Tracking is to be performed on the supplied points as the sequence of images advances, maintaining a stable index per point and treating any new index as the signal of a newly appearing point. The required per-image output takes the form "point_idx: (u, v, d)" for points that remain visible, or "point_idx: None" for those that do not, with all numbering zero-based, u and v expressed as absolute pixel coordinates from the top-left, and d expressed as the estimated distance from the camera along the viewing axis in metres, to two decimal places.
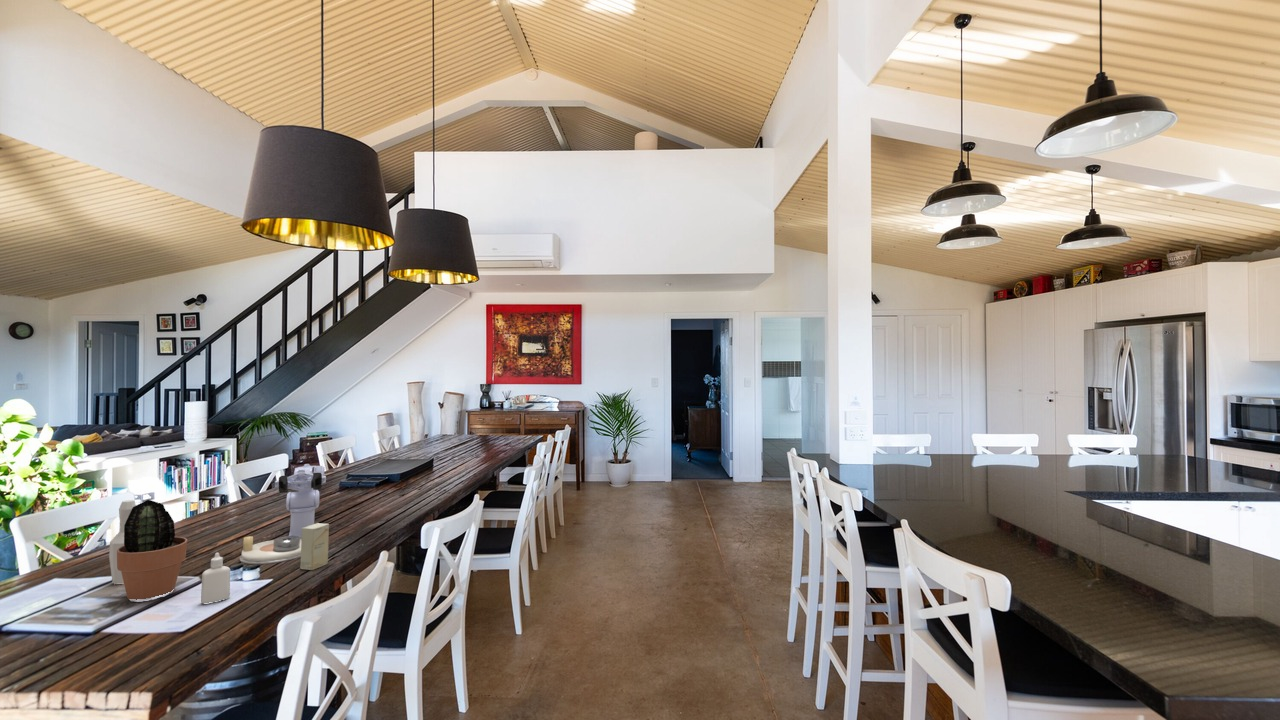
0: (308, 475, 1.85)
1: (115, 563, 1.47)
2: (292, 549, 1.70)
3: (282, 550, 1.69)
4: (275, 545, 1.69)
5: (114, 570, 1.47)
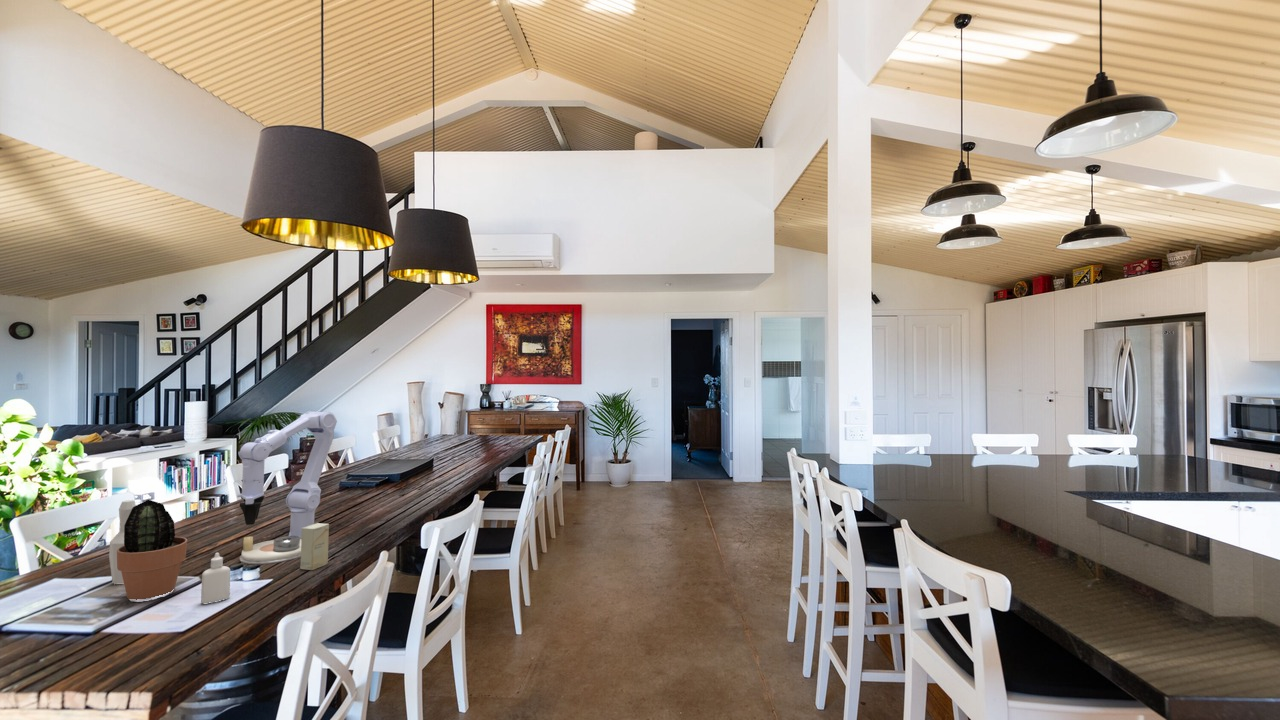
0: None
1: (115, 563, 1.47)
2: (292, 549, 1.70)
3: (282, 550, 1.69)
4: (275, 545, 1.69)
5: (114, 570, 1.47)
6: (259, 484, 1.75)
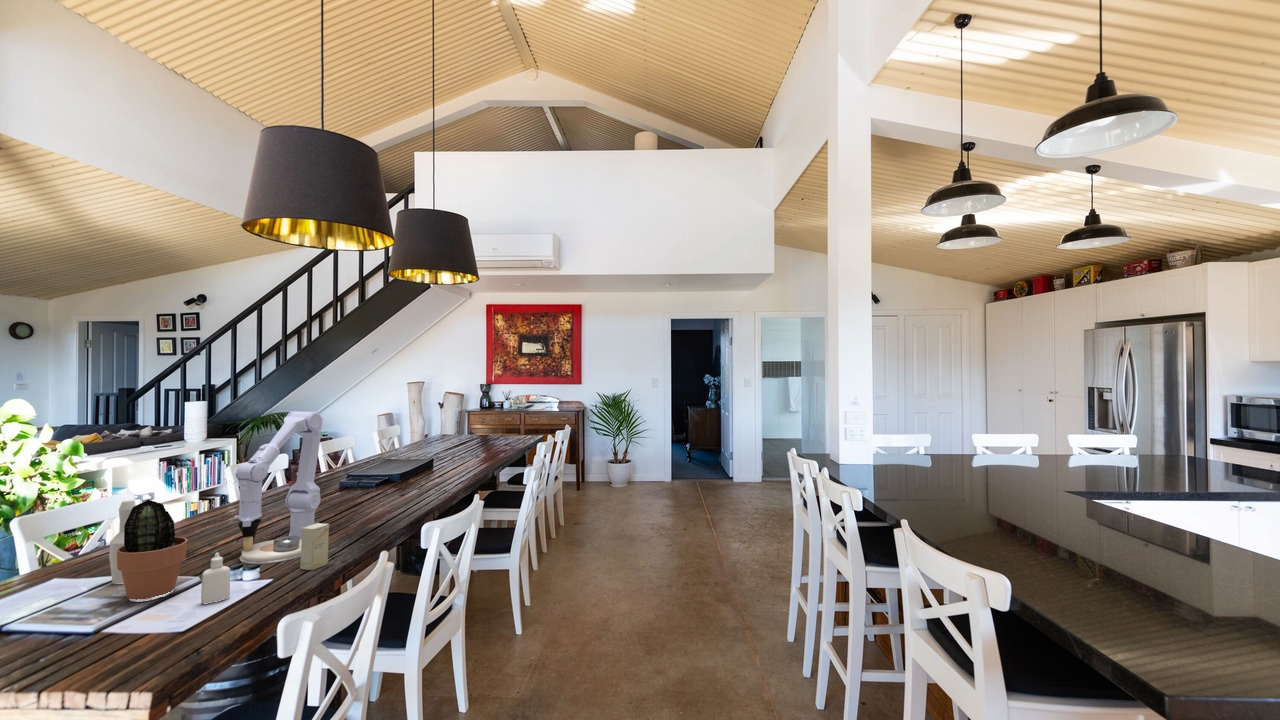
0: None
1: (115, 563, 1.47)
2: (292, 549, 1.70)
3: (282, 550, 1.69)
4: (275, 545, 1.69)
5: (114, 570, 1.47)
6: (257, 505, 1.72)
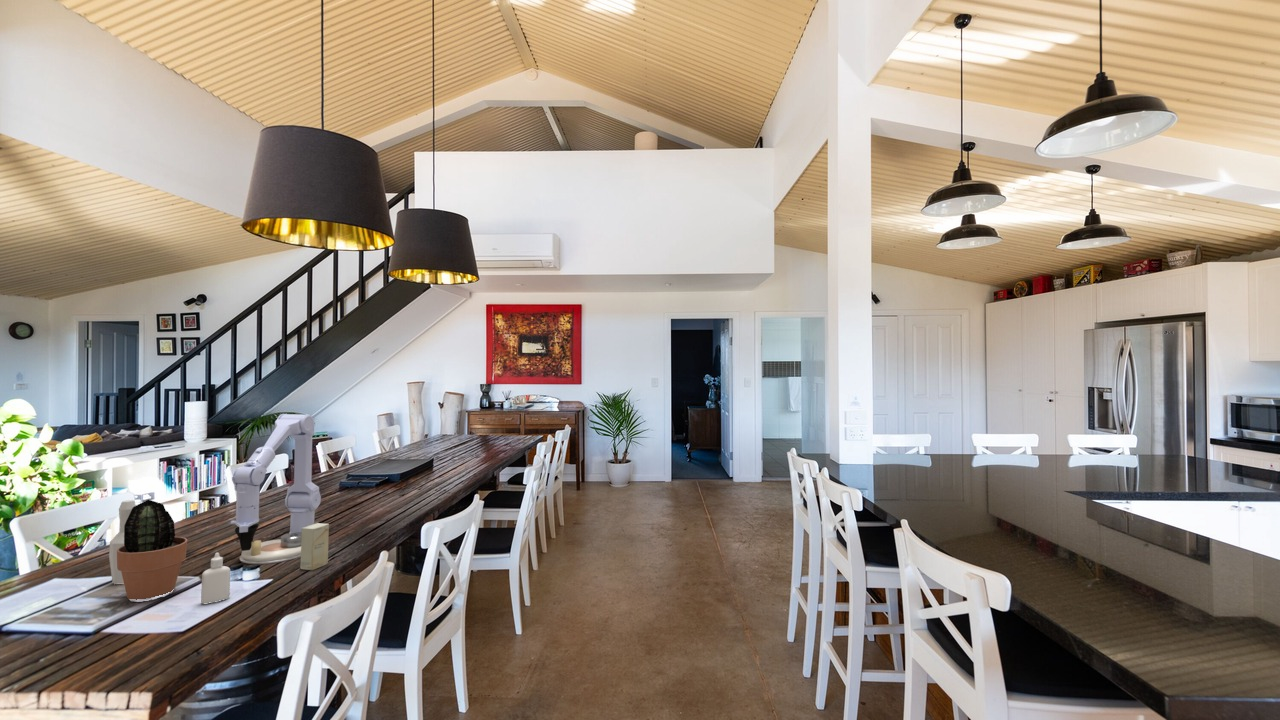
0: None
1: (115, 563, 1.47)
2: None
3: (300, 544, 1.74)
4: (291, 542, 1.73)
5: (114, 570, 1.47)
6: (254, 510, 1.66)
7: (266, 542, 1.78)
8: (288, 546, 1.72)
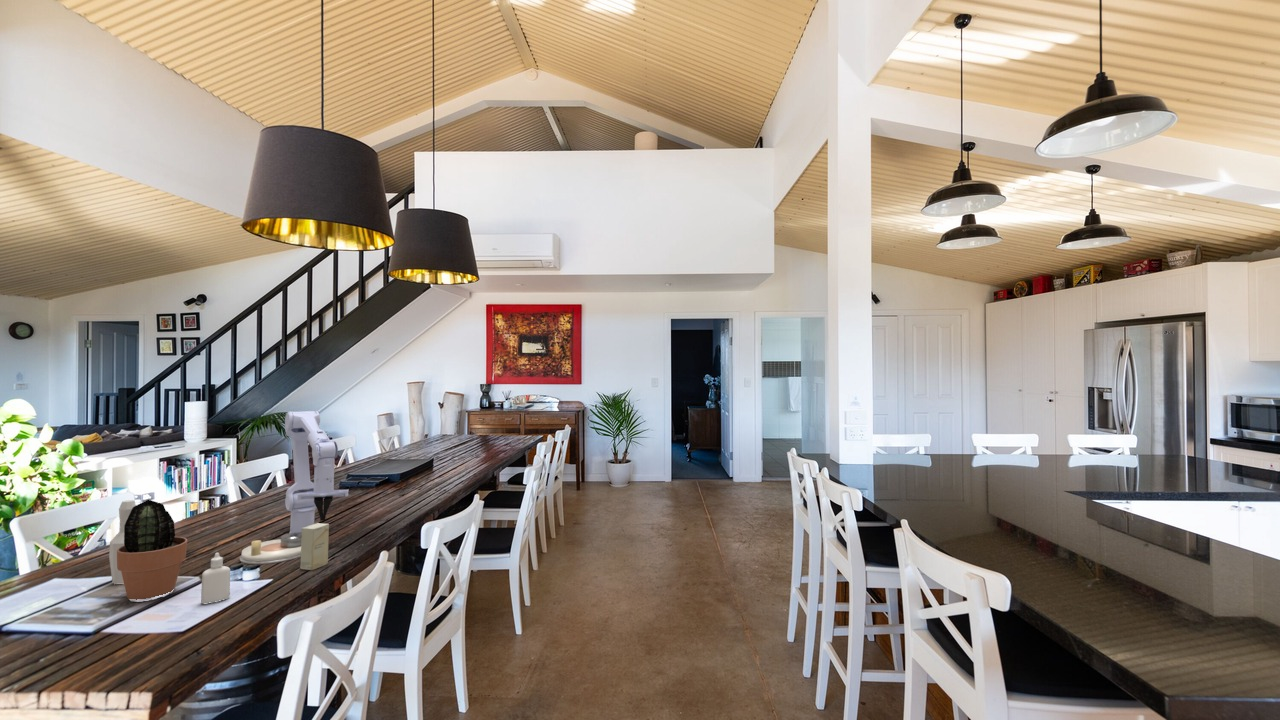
0: None
1: (115, 563, 1.47)
2: None
3: (300, 544, 1.74)
4: (291, 542, 1.73)
5: (114, 570, 1.47)
6: None
7: (266, 542, 1.78)
8: (288, 546, 1.72)
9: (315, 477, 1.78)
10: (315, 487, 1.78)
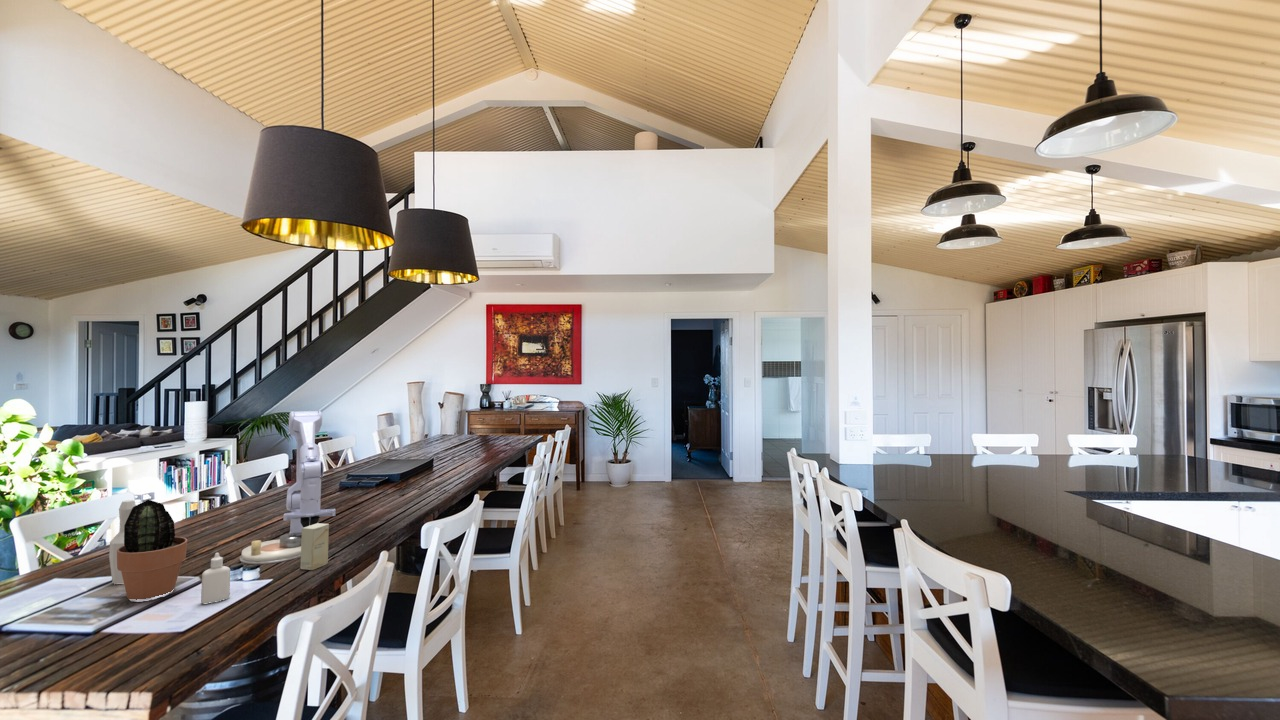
0: None
1: (115, 563, 1.47)
2: None
3: (299, 544, 1.74)
4: (290, 542, 1.73)
5: (114, 570, 1.47)
6: None
7: (266, 542, 1.78)
8: (287, 546, 1.72)
9: (300, 497, 1.76)
10: (301, 507, 1.76)
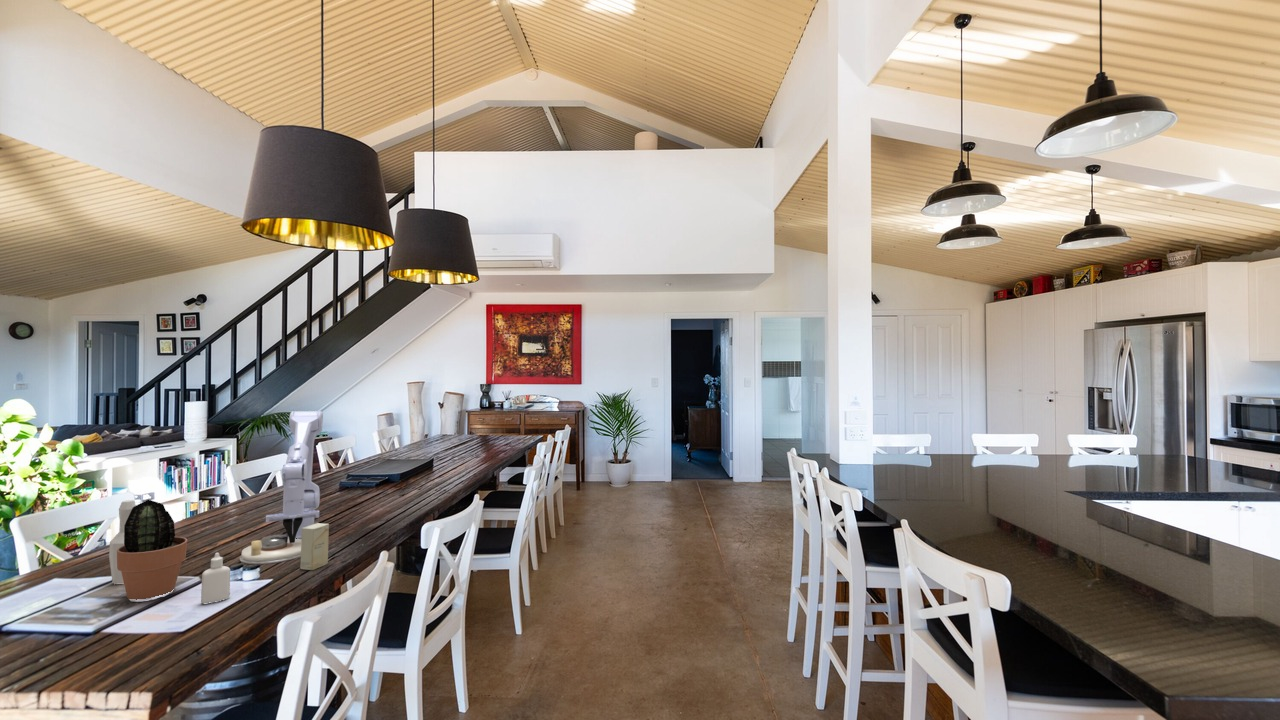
0: None
1: (115, 563, 1.47)
2: (287, 544, 1.75)
3: (282, 546, 1.72)
4: (272, 544, 1.70)
5: (114, 570, 1.47)
6: None
7: None
8: (269, 548, 1.70)
9: None
10: (284, 509, 1.74)
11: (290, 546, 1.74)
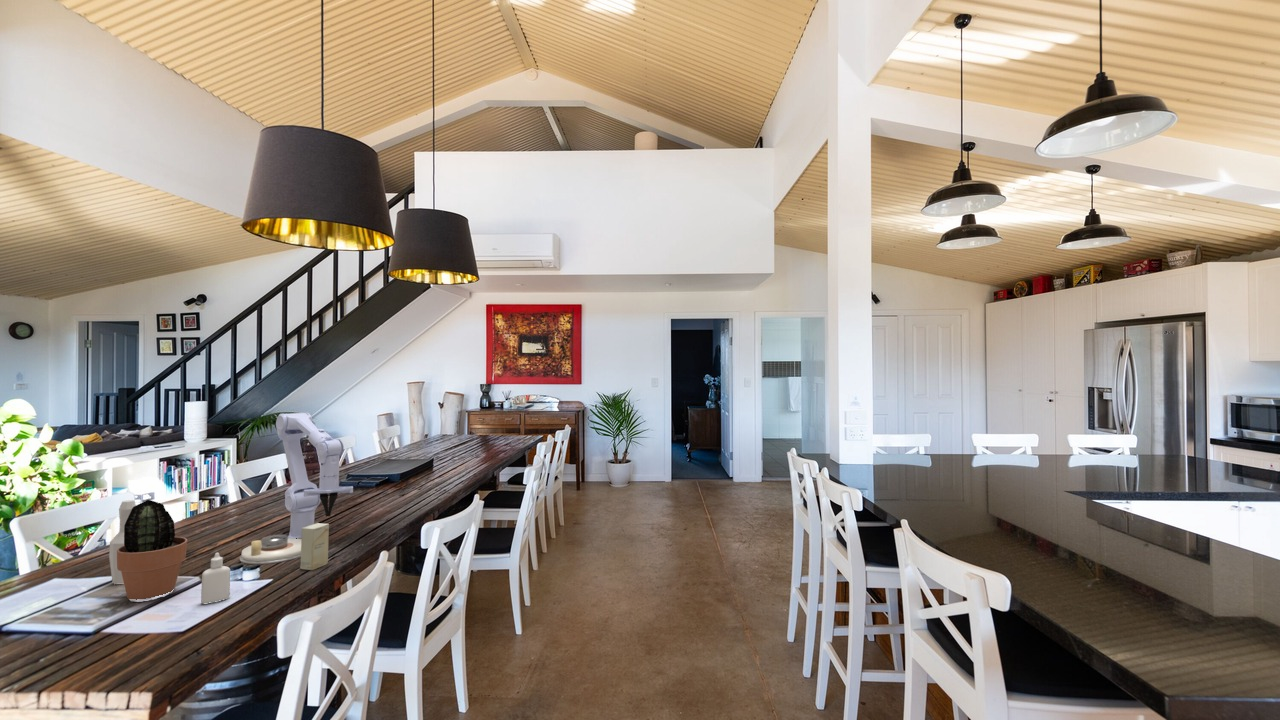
0: None
1: (115, 563, 1.47)
2: (287, 544, 1.75)
3: (282, 546, 1.72)
4: (272, 544, 1.70)
5: (114, 570, 1.47)
6: None
7: None
8: (269, 548, 1.70)
9: (322, 474, 1.83)
10: (321, 484, 1.83)
11: (290, 546, 1.74)
